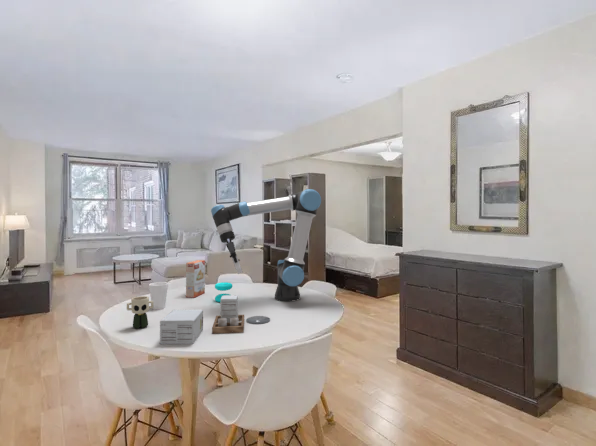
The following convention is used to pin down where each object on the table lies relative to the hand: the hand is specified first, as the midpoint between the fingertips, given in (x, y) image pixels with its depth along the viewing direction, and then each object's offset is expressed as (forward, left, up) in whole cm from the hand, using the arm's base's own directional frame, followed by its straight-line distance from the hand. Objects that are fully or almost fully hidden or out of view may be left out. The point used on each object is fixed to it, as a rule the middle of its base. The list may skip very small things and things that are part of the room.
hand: (239, 271), depth 184 cm
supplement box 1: (+22, +35, -21) cm, 46 cm away
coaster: (-9, +17, -21) cm, 28 cm away
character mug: (+43, +20, -21) cm, 52 cm away
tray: (+4, +24, -21) cm, 32 cm away
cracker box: (+28, -40, -21) cm, 54 cm away
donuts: (+10, -24, -21) cm, 34 cm away
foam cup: (+43, -12, -21) cm, 49 cm away
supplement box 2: (+4, +21, -21) cm, 30 cm away
